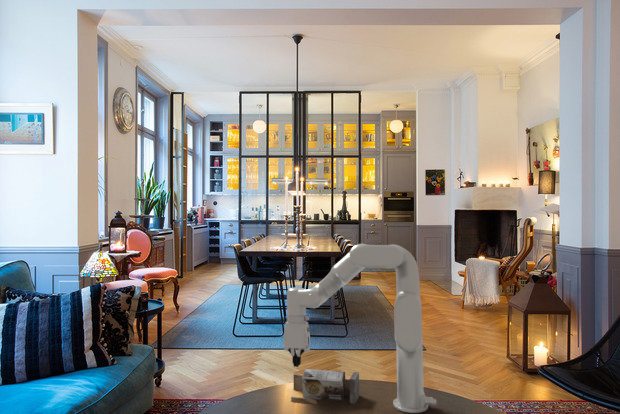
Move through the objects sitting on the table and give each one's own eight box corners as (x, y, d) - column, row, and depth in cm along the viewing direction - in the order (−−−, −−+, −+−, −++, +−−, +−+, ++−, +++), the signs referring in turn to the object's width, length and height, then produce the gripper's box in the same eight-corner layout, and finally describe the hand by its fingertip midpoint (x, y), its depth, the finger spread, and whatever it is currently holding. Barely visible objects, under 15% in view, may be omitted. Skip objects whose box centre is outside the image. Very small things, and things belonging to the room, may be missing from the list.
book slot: (359, 395, 165) (358, 372, 165) (353, 408, 153) (352, 383, 153) (294, 388, 172) (294, 366, 173) (283, 400, 160) (283, 376, 161)
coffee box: (306, 388, 168) (346, 391, 165) (302, 398, 162) (344, 402, 159) (305, 368, 166) (345, 371, 163) (301, 378, 160) (343, 381, 157)
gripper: (316, 318, 169) (317, 364, 167) (282, 316, 173) (282, 361, 172) (311, 321, 161) (312, 370, 160) (275, 319, 166) (275, 367, 164)
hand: (296, 365), depth 166 cm, fingers closed
